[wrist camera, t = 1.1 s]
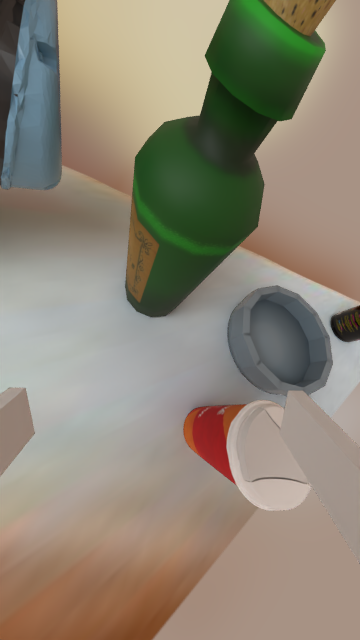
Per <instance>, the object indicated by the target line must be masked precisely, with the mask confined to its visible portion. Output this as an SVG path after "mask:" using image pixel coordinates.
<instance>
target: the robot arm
mask: <svg viewBox="0 0 360 640" xmlns="http://www.w3.org/2000/svg"><path fill="white" fill-rule="evenodd" d="M57 14H58V13H57V0H0V185H1V187H2V188H3V189H9V188H10V187H17V188H27V189H37V190H49V189H52V188H54V187H55V186H56V185H57V184H58V183H59V182H60V179H61V175H62V155H61V154H62V153H61V114H60V73H59V45H58V15H57ZM34 434H35V432H34V427H33V422H32V417H31V412H30V407H29V402H28V397H27V393H26V388H8V389H7V390H6V391H4V392H3V393H2V394H0V476H1V475H2V474H3V472H4V471H5V470H6V469H7V467H8V466H9V465H10V464H11V462H12V461H13V460H14V459H15V457H16V456H17V455H18V454H19V452H20V451H21V450H22V449H23V447H24V446H25V445H26V444H27V442H28V441H29V440H30V439H31V437H32V436H33V435H34ZM279 434H280V435H281V437H282V439H283V440H284V442H285V444H286V445H287V447H288V448H289V450H290V452H291V453H292V455H293V457H294V458H295V460H296V461H297V463H298V465H299V466H300V468H301V470H302V471H303V473H304V474H305V476H306V478H307V479H308V481H309V483H310V484H311V486H312V487H313V489H314V491H315V492H316V494H317V496H318V497H319V499H320V500H321V502H322V504H323V505H324V507H325V508H326V510H327V511H328V513H329V515H330V517H331V518H332V520H333V522H334V523H335V525H336V526H337V528H338V530H339V531H340V533H341V534H342V536H343V537H344V539H345V541H346V543H347V544H348V546H349V547H350V549H351V551H352V552H353V554H354V556H355V557H356V559H357V561H358V562H359V564H360V447H359V446H358V445H357V444H356V443H355V442H354V441H353V440H352V439H351V438H350V437H349V436H348V435H347V434H346V433H345V432H344V431H343V430H342V429H341V428H340V427H339V426H338V425H337V424H336V423H335V422H334V421H333V420H332V419H331V418H330V417H329V416H328V415H327V414H326V413H325V412H324V411H323V410H322V409H321V408H320V407H319V406H318V405H317V404H316V403H315V402H314V401H313V400H312V399H311V398H310V397H309V396H308V395H307V394H306V393H305V392H304V391H288V395H287V400H286V405H285V410H284V414H283V419H282V424H281V428H280V433H279Z"/></svg>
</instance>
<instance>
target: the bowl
mask: <svg viewBox="0 0 360 640" xmlns="http://www.w3.org/2000/svg"><path fill="white" fill-rule="evenodd" d="M228 343H229V348H230V351H231V354H232V357H233V359H234V361H235V363H236V365H237V367H238V368H239V370H240V371H241V372H242V374H243V375H244V376H245V377H246V378H247V380H249V381H250V382H251V383H252V384H253V385H254V386H256V387H257V388H259V389H261V390H263V391H265V392H268V393H271V394H276V395H284V396H287V395H288V391H304V392H305V393H306V394H307V395H309V394H311V393H313V392H315V391H317V390H318V389H320V388H322V387H324V386H325V384H326V382H327V379H328V376H329V373H330V370H331V368H332V365H333V361H332V353H331V346H330V338H329V335H328V333H327V332H326V330H325V328H324V326H323V324H322V322H321V320H320V318H319V316H318V314H317V312H316V311H315V310H314V309H313V308H312V307H311V306H310V305H309V304H308V303H307V302H306V301H305V300H304V299H303V298H302V297H301V296H300V295H299V294H296V293H294V292H292V291H289V290H287V289H284V288H282V287H280V286H272V287H266V288H260V289H257V290H255V291H254V292H252V293H251V294H250V295H248V296H247V297H245V299H244V300H243V301H242V302H241V303H240V304H239V305H238V306H237V307H236V308H235V309H234V311H233V312H232V314H231V316H230V319H229V323H228Z"/></svg>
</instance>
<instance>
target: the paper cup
mask: <svg viewBox="0 0 360 640" xmlns="http://www.w3.org/2000/svg"><path fill="white" fill-rule="evenodd" d="M284 410H285V409H284V408H283V407H281V406H280V405H278V404H276V403H274V402H272V401H268V400H257V401H253V402H251V403H249V404H244V405H223V406H206V407H199V408H196V409H194V410H192V411H191V412H190V413H189V414H188V416H187V417H186V420H185V422H184V429H183V430H184V437H185V440H186V442H187V444H188V445H189V447H190V448H191V449H192V450H193V451H194V452H195V453H197V454H198V455H199V456H200V457H202V458H203V459H204V460H205V461H206V462H208V463H209V464H210V465H211V466H213V467H214V468H215V469H217V470H218V471H219V472H220V473H222V474H223V475H224V476H225V477H227V478H228V479H229V480H230V481H232V482H233V483H234V484H235V485H237V486H238V488H239V490H240V491H241V493H242V494H243V495H244V496H245V498H246V499H247V500H249V501H250V502H251V503H252V504H253V505H255V506H257V507H259V508H261V509H264V510H270V511H275V510H283V511H285V510H290V509H293V508H295V507H297V506H298V505H299V504H301V503H302V502H303V501H304V500H305V498H306V497H307V495H308V494H309V492H310V489H311V486H309V485H307V483H308V484H309V481H308V479H307V478H306V476H305V474H304V473H303V471H302V470H301V468H300V466H299V465H298V463H297V461H296V460H295V458H294V457H293V455H292V453H291V452H290V450H289V448H288V447H287V445H286V444H285V442H284V440H283V439H282V437H281V435H280V434H279V433H280V428H281V424H282V419H283V414H284Z"/></svg>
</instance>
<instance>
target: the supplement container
mask: <svg viewBox="0 0 360 640" xmlns="http://www.w3.org/2000/svg"><path fill="white" fill-rule="evenodd" d="M331 327H332V330H333V332H334V334H335V335H336V336H337V337H338V338H339V339H340V340H342V341H345V342H353V341H357V340H360V305H359V306H357V307H354V308H351V309H348V310H345V311H343V312H340V313H337V314H335V315H334V316H333V317H332V319H331Z"/></svg>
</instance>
